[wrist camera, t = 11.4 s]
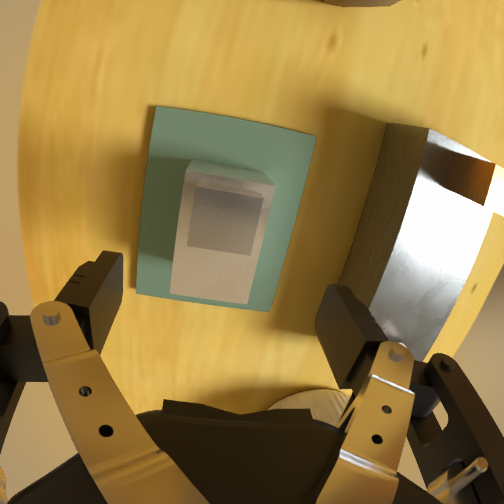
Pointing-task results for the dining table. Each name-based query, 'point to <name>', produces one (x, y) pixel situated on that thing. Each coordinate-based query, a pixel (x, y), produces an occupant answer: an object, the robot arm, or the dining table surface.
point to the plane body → (420, 232)
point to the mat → (226, 153)
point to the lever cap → (220, 231)
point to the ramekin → (316, 404)
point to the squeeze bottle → (361, 3)
